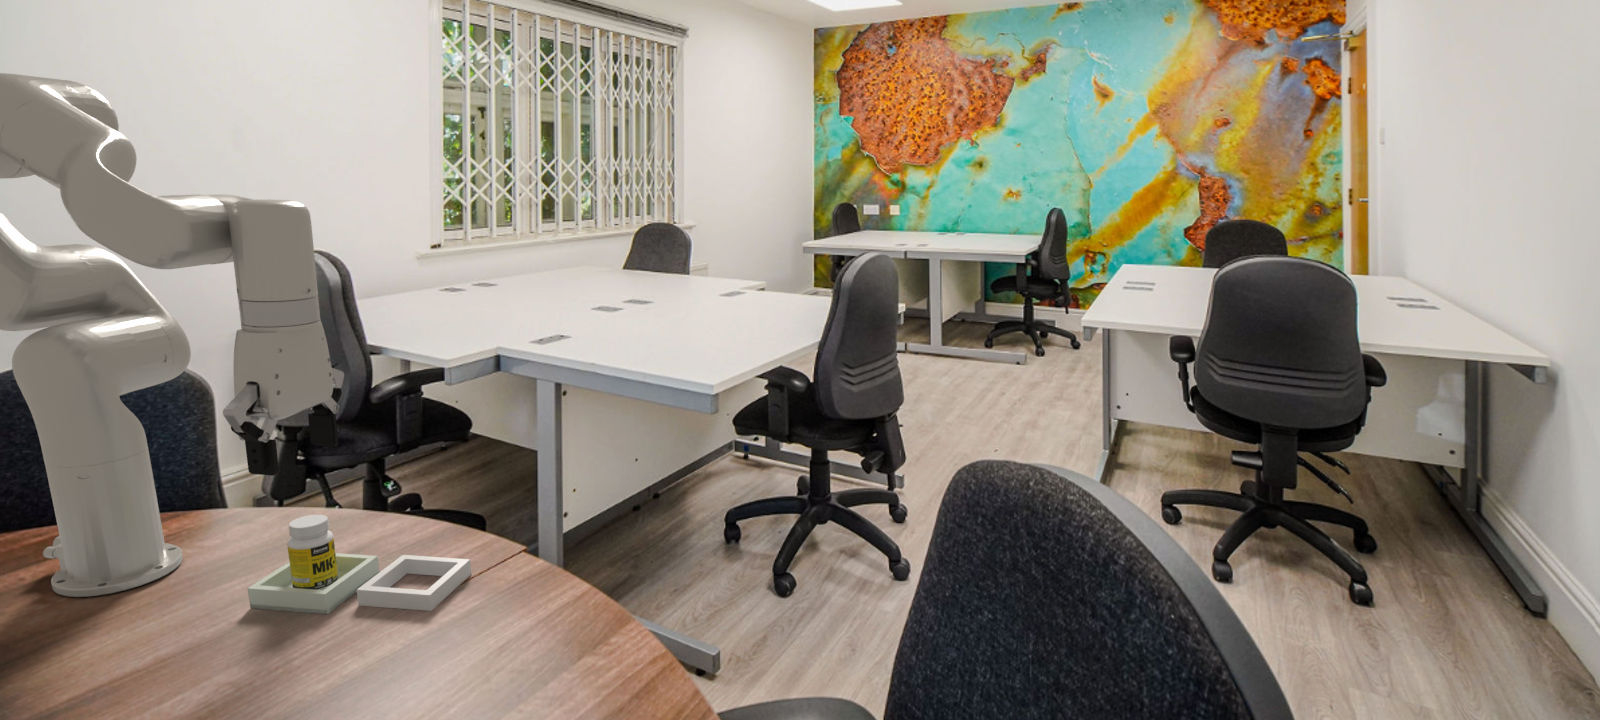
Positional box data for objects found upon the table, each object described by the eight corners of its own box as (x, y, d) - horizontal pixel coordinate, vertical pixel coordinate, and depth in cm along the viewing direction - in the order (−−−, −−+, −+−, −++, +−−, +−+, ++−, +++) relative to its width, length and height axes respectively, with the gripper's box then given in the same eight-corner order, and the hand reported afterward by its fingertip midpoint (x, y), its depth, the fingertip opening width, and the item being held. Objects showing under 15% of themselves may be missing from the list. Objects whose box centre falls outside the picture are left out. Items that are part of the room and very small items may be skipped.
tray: (250, 608, 94) (247, 588, 94) (309, 569, 103) (306, 551, 103) (327, 614, 93) (324, 594, 92) (379, 574, 102) (377, 556, 102)
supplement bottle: (318, 598, 95) (309, 531, 94) (283, 593, 96) (274, 527, 95) (348, 578, 100) (340, 514, 98) (314, 574, 101) (306, 511, 99)
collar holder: (358, 605, 95) (356, 589, 95) (404, 569, 104) (402, 554, 103) (431, 611, 94) (429, 595, 93) (471, 574, 103) (470, 559, 102)
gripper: (304, 299, 100) (317, 433, 103) (183, 324, 83) (204, 483, 87) (362, 303, 99) (373, 438, 103) (251, 329, 82) (269, 489, 86)
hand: (295, 458), depth 95 cm, fingers open, 9 cm apart
